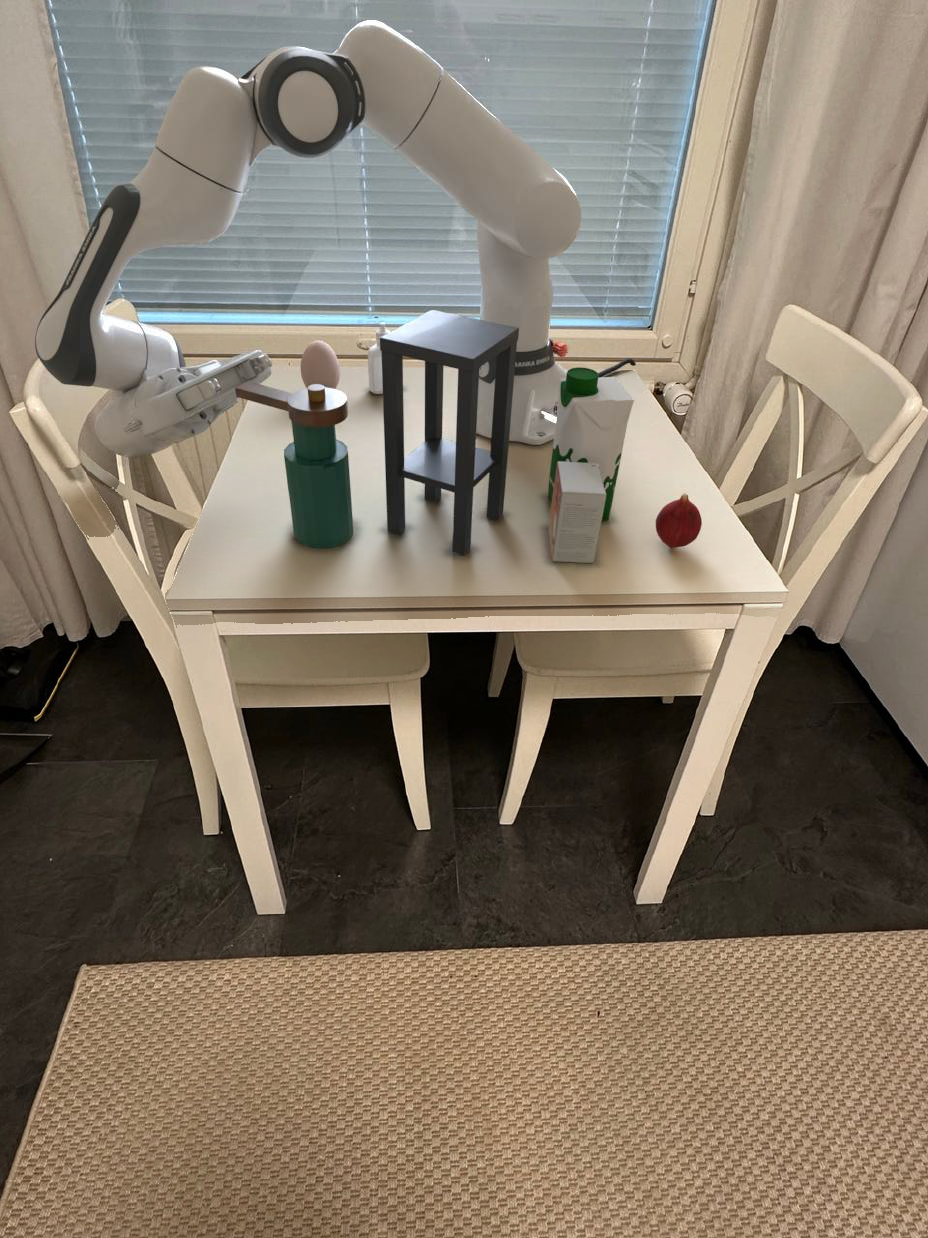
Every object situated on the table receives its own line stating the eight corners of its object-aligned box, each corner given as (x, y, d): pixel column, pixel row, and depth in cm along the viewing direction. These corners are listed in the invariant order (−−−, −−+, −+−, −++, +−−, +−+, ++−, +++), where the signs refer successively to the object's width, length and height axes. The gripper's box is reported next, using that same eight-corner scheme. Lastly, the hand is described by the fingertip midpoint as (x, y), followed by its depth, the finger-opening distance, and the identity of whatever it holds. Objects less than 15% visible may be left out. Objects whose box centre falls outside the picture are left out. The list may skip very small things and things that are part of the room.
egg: (349, 395, 136) (346, 341, 130) (320, 406, 132) (315, 351, 126) (324, 384, 139) (320, 331, 133) (295, 395, 135) (289, 340, 129)
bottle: (338, 511, 106) (328, 394, 95) (363, 538, 101) (356, 418, 90) (285, 525, 102) (269, 406, 92) (308, 554, 97) (294, 432, 87)
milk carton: (540, 494, 111) (555, 360, 98) (599, 491, 112) (621, 358, 100) (555, 527, 105) (574, 387, 92) (617, 523, 106) (644, 385, 93)
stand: (386, 531, 102) (379, 337, 86) (430, 492, 111) (431, 309, 94) (464, 556, 98) (473, 359, 82) (504, 514, 107) (519, 327, 90)
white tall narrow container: (399, 395, 137) (398, 328, 129) (368, 394, 137) (365, 327, 129) (400, 385, 140) (399, 319, 132) (370, 384, 140) (367, 318, 132)
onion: (702, 556, 100) (717, 504, 95) (663, 562, 99) (677, 509, 94) (680, 532, 105) (694, 481, 99) (643, 538, 103) (654, 486, 98)
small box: (547, 528, 104) (556, 459, 97) (588, 530, 104) (599, 461, 97) (551, 562, 98) (560, 491, 91) (594, 564, 98) (607, 493, 91)
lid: (223, 403, 92) (219, 376, 90) (261, 384, 97) (257, 357, 94) (325, 432, 87) (322, 404, 85) (359, 410, 92) (358, 383, 89)
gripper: (102, 410, 92) (164, 376, 84) (217, 358, 107) (280, 324, 98) (132, 457, 95) (194, 428, 86) (241, 400, 109) (304, 371, 101)
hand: (241, 372), depth 92 cm, fingers open, 8 cm apart
